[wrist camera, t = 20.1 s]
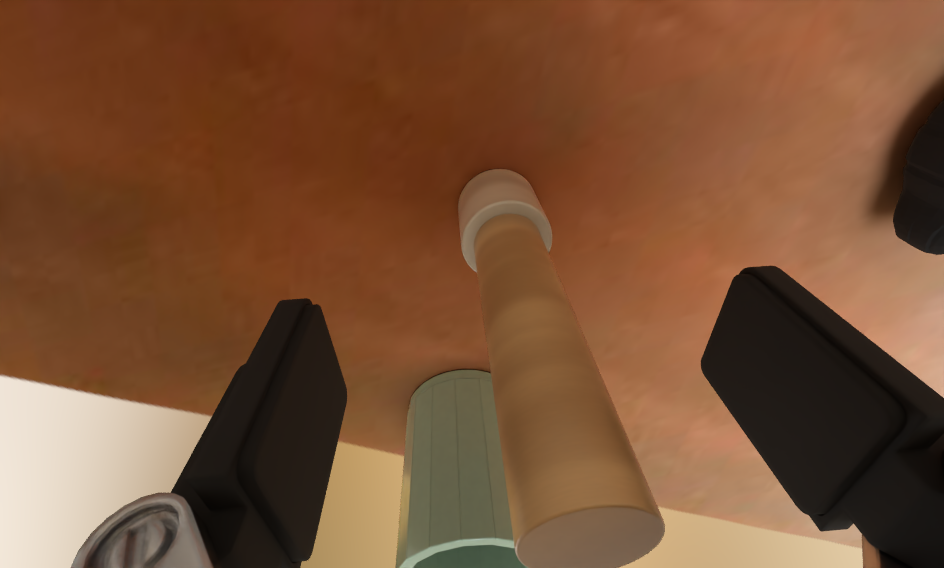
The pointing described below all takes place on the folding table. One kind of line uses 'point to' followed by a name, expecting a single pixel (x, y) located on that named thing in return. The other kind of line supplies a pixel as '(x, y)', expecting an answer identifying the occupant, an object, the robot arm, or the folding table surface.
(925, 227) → the tape measure
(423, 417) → the cup
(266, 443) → the robot arm
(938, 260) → the folding table surface
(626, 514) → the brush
